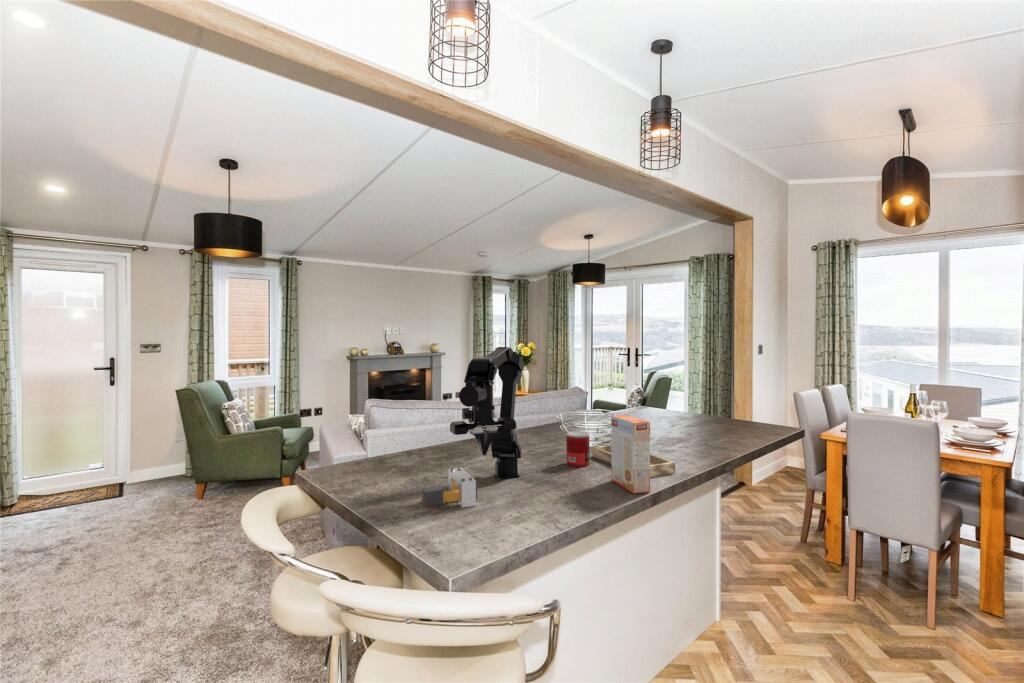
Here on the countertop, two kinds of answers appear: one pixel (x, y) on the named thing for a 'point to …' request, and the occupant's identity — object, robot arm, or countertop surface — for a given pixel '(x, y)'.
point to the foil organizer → (656, 463)
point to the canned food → (578, 449)
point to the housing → (462, 486)
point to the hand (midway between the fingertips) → (483, 455)
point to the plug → (438, 495)
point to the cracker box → (631, 453)
